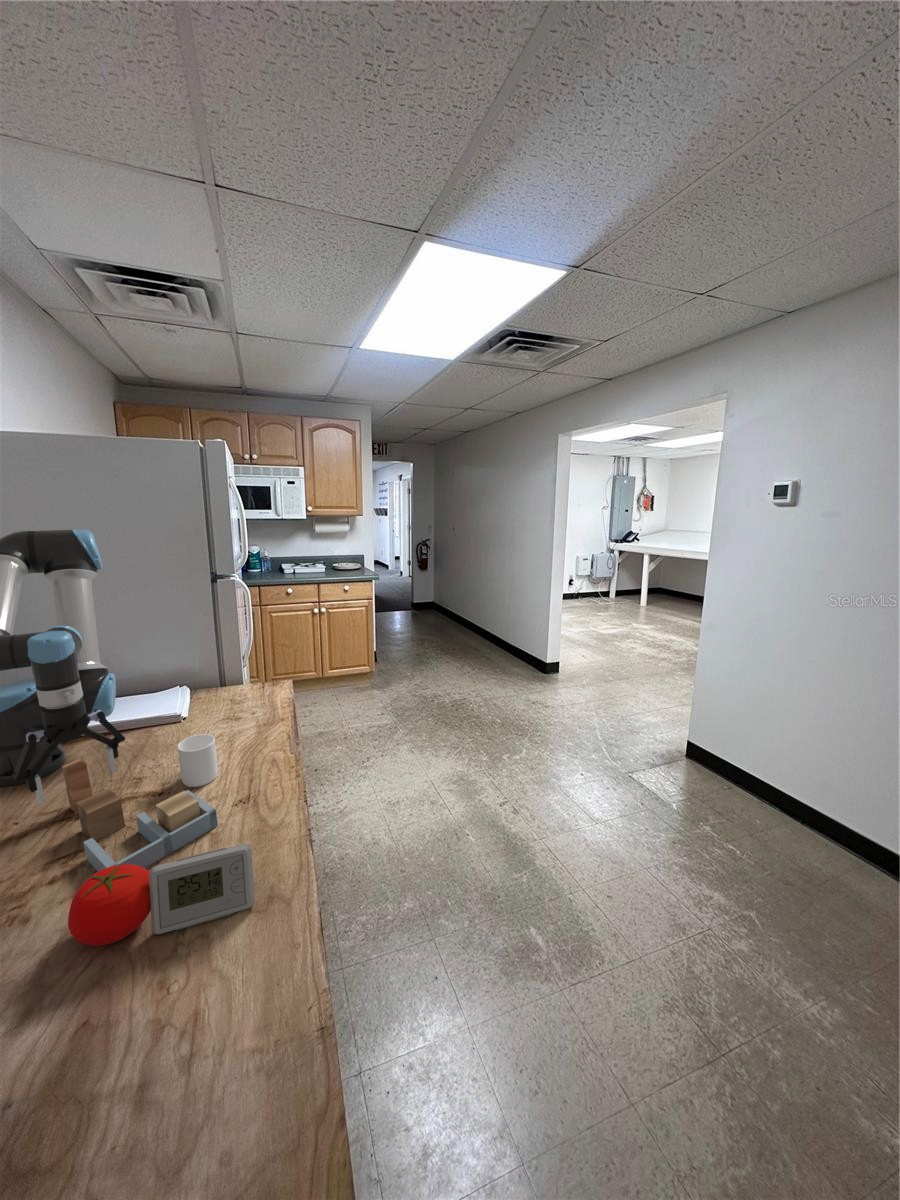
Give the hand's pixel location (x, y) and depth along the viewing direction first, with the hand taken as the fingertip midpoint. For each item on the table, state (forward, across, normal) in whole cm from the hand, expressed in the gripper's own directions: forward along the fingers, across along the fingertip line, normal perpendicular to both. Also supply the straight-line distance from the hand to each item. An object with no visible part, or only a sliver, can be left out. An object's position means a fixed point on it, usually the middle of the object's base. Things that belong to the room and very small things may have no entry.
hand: (78, 785), depth 108 cm
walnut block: (+5, 0, -7) cm, 9 cm away
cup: (+6, +22, -10) cm, 25 cm away
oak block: (+5, +9, -27) cm, 29 cm away
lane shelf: (+5, +4, -26) cm, 26 cm away
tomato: (+5, -8, -42) cm, 43 cm away
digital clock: (+5, +2, -51) cm, 51 cm away
